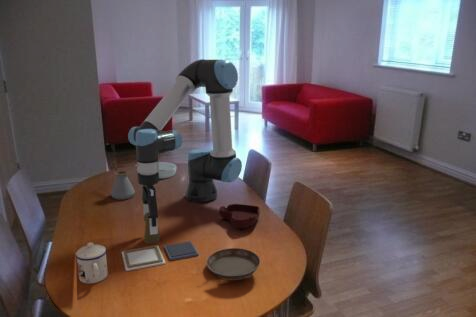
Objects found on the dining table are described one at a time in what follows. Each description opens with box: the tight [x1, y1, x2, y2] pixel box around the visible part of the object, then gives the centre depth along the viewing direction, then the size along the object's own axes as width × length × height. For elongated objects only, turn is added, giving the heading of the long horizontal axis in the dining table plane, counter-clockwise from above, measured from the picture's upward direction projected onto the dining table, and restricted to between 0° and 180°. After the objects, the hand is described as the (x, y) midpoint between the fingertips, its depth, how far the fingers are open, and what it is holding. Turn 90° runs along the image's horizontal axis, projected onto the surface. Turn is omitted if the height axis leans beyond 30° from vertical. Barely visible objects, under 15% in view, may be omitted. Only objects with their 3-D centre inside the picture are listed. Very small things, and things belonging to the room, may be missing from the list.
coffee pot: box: [109, 160, 136, 201], centre depth 201 cm, size 21×12×15 cm, turn 29°
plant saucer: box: [206, 247, 261, 281], centre depth 136 cm, size 18×18×3 cm
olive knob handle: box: [143, 212, 161, 245], centre depth 154 cm, size 6×6×11 cm
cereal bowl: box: [158, 161, 177, 180], centre depth 228 cm, size 17×17×7 cm
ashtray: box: [218, 203, 261, 231], centre depth 173 cm, size 18×16×5 cm
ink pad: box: [164, 240, 199, 261], centre depth 147 cm, size 10×10×1 cm
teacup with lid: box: [75, 241, 109, 285], centre depth 128 cm, size 12×9×12 cm
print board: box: [121, 245, 166, 272], centre depth 142 cm, size 13×13×1 cm
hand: (150, 226), depth 154 cm, fingers open, 13 cm apart
